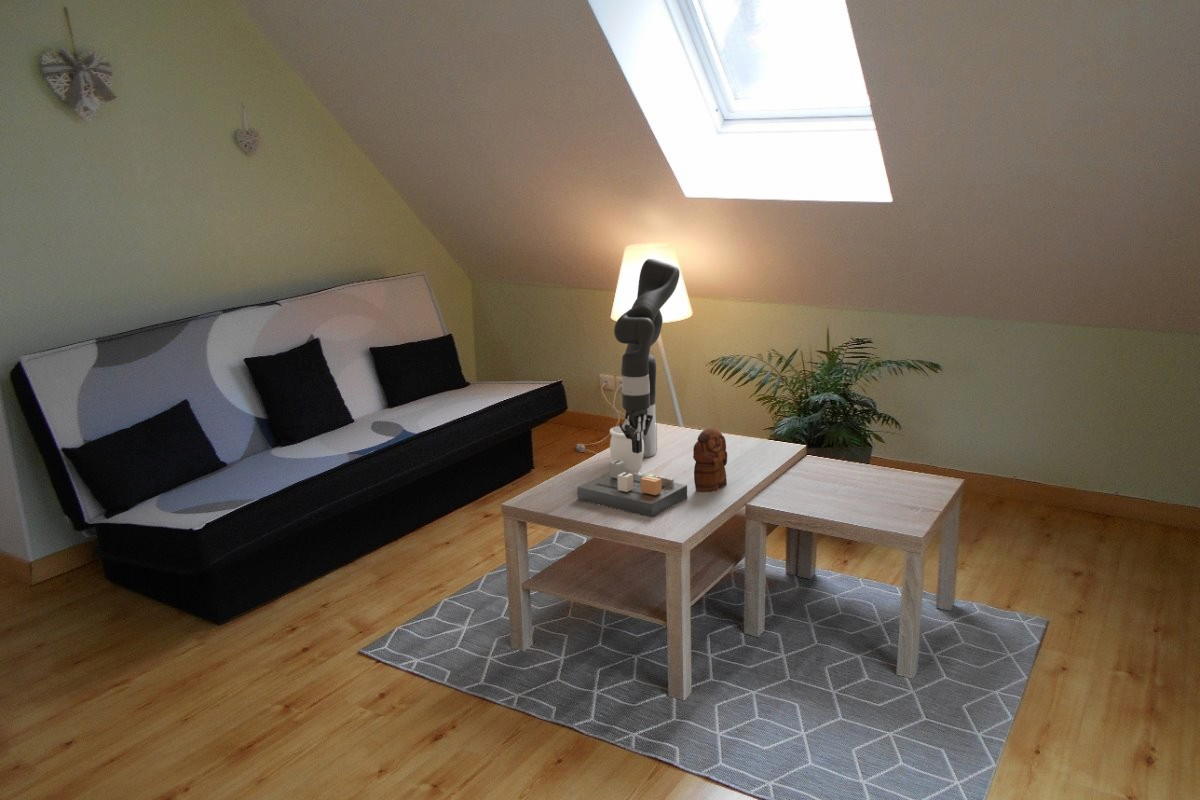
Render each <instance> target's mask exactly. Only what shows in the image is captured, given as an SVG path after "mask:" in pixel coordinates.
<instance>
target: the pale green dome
mask: <svg viewBox="0 0 1200 800" xmlns="http://www.w3.org/2000/svg"><path fill="white" fill-rule="evenodd" d="M641 476H642V478H643V477H645V476H651V477H655V478H657V475H656V473H654V472H653V473H652V472H645V473H641Z"/></svg>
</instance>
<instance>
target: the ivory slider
mask: <svg viewBox="0 0 1200 800" xmlns="http://www.w3.org/2000/svg"><path fill="white" fill-rule="evenodd" d="M617 477H618V490H620V491H625V492H628V491H630V490H632V489H633V474H630V473H625V472H623V473H621V474H619V475H617Z"/></svg>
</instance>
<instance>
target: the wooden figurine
mask: <svg viewBox="0 0 1200 800" xmlns="http://www.w3.org/2000/svg"><path fill="white" fill-rule="evenodd" d="M692 449H693V452H692V453H693V456H692V458H693V460H694V461H695V464H694V469H693V478H694V479H693V480H694V481H693V482H694V485H695V491H696V492H702V493H711V492H712V493H713V491H714V492H716V491H719V490H720V489H722V488H724V485H727V484H728V483H727V471H726V467H725V466H726V465H727V463H728V452H727V443H726V438H725V436H724V435H723V434H722V432H721V431H720V430H718V429H717V428H712V427H711V428H706V429H703V431H701V432H700V434H699V435H698V437H697V441H696V442H695V443H694V446H693V448H692Z"/></svg>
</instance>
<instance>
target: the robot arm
mask: <svg viewBox="0 0 1200 800" xmlns="http://www.w3.org/2000/svg"><path fill="white" fill-rule="evenodd" d="M680 274H681V273H680V269H679V268H678V266H676V265H673V264H671V263H668V262H665V261H662V260H658V259H655V258H647V259H646V260H645V261H644V262H643V264H642V266H641V269H640V273H639V279H638V285H637V286H638V287H637V295H636V296H637V297H636V299H635V301H634V302H633V304H632V306H631V308H629V309H628V310H627V311H625V313H623V314H622V315H621V316H620V317H619V318H618V319H617V321H616V323H615V325H614V328H613V334H614V337H615V339H616V341H618V343H621V344H626V345H627V346H626V348H625V352H624V354H623V355H622V359H621V368H620V369H621V373H620V375H621V402H622V403H621V404H622V405H621V406H622V408H623V410H625V415H624V422H623V423H620V424H619V426H620V428H621V430H622V432H623V433H624V435H625V436H626V438H627V439H631V440H632V452H633V453H637V454H638V453H640V452H642V439H643V443H644V454H643V458H649V457H653V456H655V455H656V454H657V452H658V425H657V423H656V420H657V419H656V391H657V389H656V383H657V363H656V359H655V357H654V356H653V355H652V354H650V352H651V347H652V346H653V345H654V344H655V343H656V342H657V340H658V339H659V337H660V335H661V331H662V326H663V315H662V312H661V308H662V307H663V306H664V305H665V303H667V302H668V300H669V299H670V298H671V296H673V294H674V292H675V290H676V288H677V285H678V283H679V280H680Z"/></svg>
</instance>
